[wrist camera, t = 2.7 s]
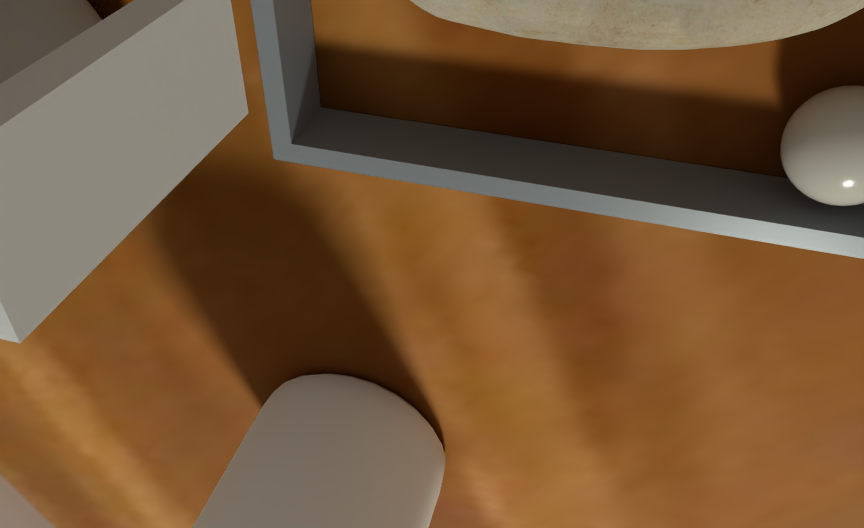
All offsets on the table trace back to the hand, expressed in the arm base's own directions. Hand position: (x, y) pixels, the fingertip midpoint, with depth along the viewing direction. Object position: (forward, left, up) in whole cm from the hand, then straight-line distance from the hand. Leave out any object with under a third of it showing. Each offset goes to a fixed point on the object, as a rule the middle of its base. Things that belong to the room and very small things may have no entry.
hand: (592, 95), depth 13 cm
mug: (+26, -8, -10) cm, 29 cm away
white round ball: (+5, +6, -10) cm, 13 cm away
